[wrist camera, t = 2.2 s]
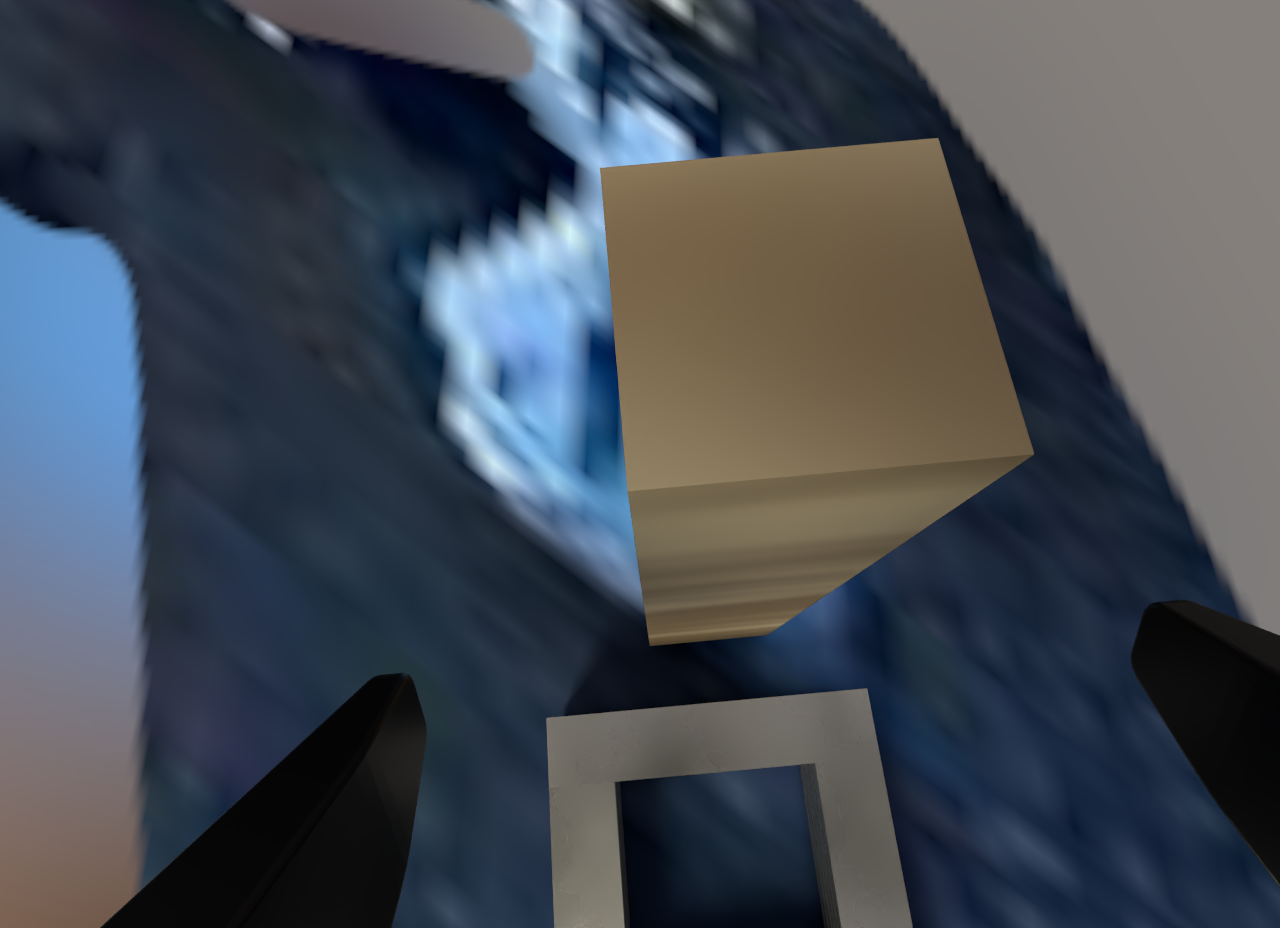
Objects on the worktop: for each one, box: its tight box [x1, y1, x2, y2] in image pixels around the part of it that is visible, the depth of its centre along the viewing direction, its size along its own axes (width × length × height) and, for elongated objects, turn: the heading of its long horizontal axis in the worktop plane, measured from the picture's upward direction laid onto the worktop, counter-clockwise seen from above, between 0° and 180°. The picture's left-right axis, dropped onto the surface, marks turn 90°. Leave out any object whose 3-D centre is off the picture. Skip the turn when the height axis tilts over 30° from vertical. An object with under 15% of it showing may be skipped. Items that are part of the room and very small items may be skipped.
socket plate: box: [547, 688, 913, 928], centre depth 16 cm, size 8×8×2 cm
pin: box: [600, 138, 1034, 646], centre depth 12 cm, size 3×3×14 cm
